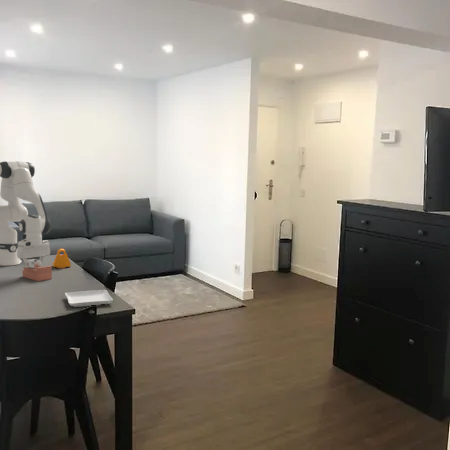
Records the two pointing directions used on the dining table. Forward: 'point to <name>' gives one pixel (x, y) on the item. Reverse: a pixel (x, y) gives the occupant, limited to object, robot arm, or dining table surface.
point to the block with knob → (34, 264)
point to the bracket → (61, 260)
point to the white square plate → (88, 298)
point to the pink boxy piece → (38, 273)
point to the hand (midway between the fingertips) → (34, 264)
